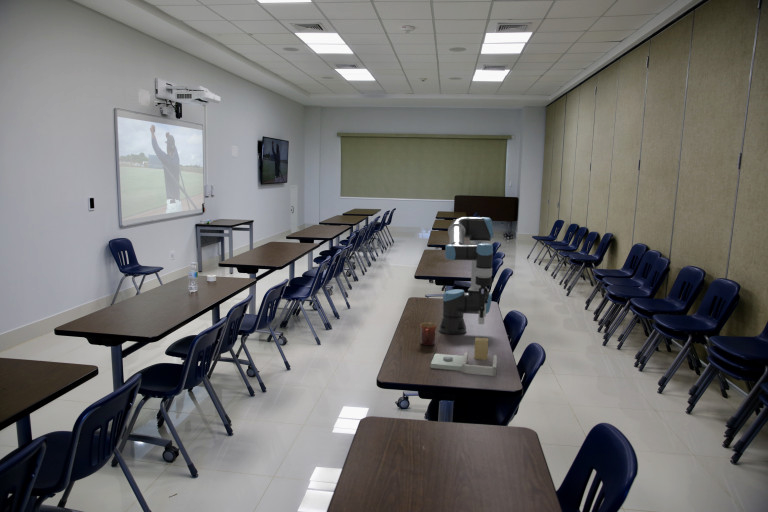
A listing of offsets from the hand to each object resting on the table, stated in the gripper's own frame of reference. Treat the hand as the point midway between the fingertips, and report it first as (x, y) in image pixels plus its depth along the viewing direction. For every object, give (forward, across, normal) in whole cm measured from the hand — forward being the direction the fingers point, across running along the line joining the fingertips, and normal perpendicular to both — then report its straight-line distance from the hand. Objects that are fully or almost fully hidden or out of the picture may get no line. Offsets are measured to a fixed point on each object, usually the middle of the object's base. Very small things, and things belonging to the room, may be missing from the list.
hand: (482, 320), depth 240 cm
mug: (+19, -12, -28) cm, 36 cm away
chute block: (+19, 0, 0) cm, 19 cm away
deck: (+19, +14, -7) cm, 24 cm away
